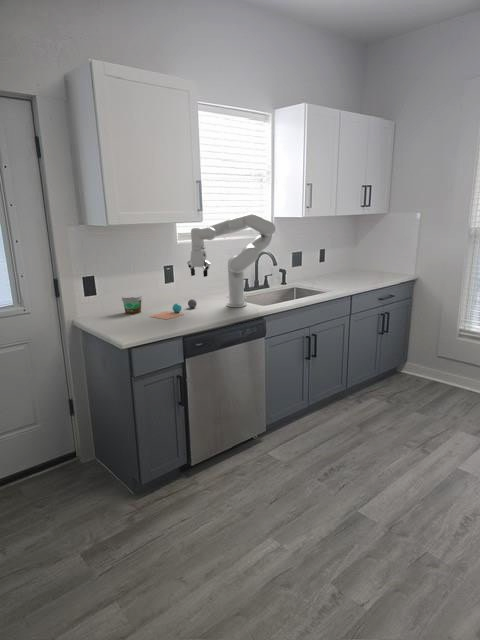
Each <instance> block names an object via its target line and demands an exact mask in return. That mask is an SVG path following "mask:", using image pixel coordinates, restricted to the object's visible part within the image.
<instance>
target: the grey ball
mask: <svg viewBox="0 0 480 640" xmlns="http://www.w3.org/2000/svg"><path fill="white" fill-rule="evenodd" d="M187 306H188V307H189V308H191V309H194V308H196V307H197V301H196V299H190V300H188V302H187Z"/></svg>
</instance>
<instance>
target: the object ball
mask: <svg viewBox="0 0 480 640" xmlns="http://www.w3.org/2000/svg"><path fill="white" fill-rule="evenodd" d="M171 308H172V309H171V310H172V311H173V313H180V312H181V311H182V305H181V304H180V303H175V304H173V305H172V307H171Z"/></svg>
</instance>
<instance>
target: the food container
mask: <svg viewBox="0 0 480 640" xmlns="http://www.w3.org/2000/svg"><path fill="white" fill-rule="evenodd" d="M142 300H143V297H142V296H139V297H138V296H137V297H134V296H132V297H130V296H129V297H124V296H122V297H121V301H122V303H123V308H124V311H125V312H124V314H126V315H139V314H140V313H142Z"/></svg>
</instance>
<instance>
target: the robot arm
mask: <svg viewBox="0 0 480 640" xmlns="http://www.w3.org/2000/svg"><path fill="white" fill-rule="evenodd" d="M246 229H252V230H254V231H257V232H258V235H257V237H256V238H255V239H253V240H252V241H251V242H249V244H247V245H245V246H244V247H243V248H242V251H241V252H240V253H239V254H238V255H232V256H231V257H230V258H229V259H228V261H227V274H228V275H227V277H228V302H227V303H226V306H227V307H229V308H242V307H245V306H247V302H245V301H247V300H248V297H244V293H245V292H244V290H245V289H244V280H245V279H244V271H245V270H246V269H247V268H249V267H250V266H251V265H253V264H254V263H255V262H256V261H257V260H258V258H259V257H260V254H261V252H263V251H264V250H265V249H266V248H267V247H268V246H269V245H270V244H271V242H272V239H273V235H274V234H275V232H276V226H275V223H274V222H273V221H270V220H268V219H266V218H264V217H262V216H260V215H257V214H256V213H253V212H248V213H245V214H242V215H239V216H235V217H233V218H230V219H227V220H225V221H221V222H219V223H215V224H213V225H210V226H207V227H204V228H202V227H193V228H191V230H190V237H191V252H190V260H188V261H187V262H186V263H187V266H188V268H189V270H190V276H191V277H193V276H196V269H195V268H202V269H203V277H204V278H206V277H208V276H209V275H208V270H209V269H210V266H211V262H209V261H208V258H207V252H206V246H205V241H212V240H215V238H217V237H220V236H224V235H228V234H234V233H238V232H240V231H243V230H246Z"/></svg>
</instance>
